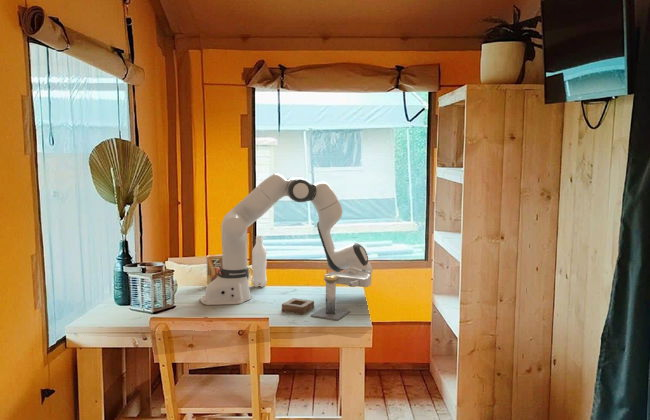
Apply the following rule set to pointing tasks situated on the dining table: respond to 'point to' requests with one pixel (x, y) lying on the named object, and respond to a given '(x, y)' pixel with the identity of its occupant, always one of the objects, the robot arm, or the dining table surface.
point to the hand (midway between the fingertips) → (340, 283)
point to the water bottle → (259, 263)
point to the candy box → (213, 267)
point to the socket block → (297, 306)
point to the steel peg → (330, 293)
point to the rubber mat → (336, 316)
